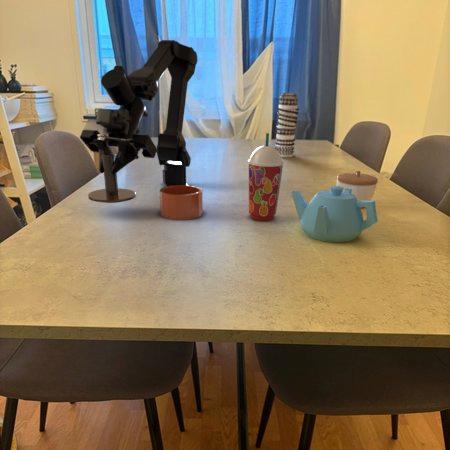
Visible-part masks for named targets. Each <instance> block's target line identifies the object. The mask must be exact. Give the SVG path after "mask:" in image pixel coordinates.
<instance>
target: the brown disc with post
mask: <svg viewBox="0 0 450 450" xmlns="http://www.w3.org/2000/svg"><path fill="white" fill-rule="evenodd" d="M115 158H116V154H115V153H113V152H112V153H104V154H102V161H103V170H104V172H103V178H104V188H102V189H96V190H93V191H90V192H89V193H88V194H87V197H88V200H90V201H92V202H97V203H104V204H115V203H117V204H118V203H123V202H128V201H131V200H134V199H135V198H136V197H137V192H136V191H134V190H131V189H129V188H120V187H119V185H118V174H117V173H118V172H117V173H116V174H115V175H113V174H112V173H111V170H112V166H113V164H114V161H115Z"/></svg>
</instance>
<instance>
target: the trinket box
mask: <svg viewBox="0 0 450 450" xmlns="http://www.w3.org/2000/svg"><path fill="white" fill-rule="evenodd" d="M378 182H379V179H378V178H377V177H376V176H375V175H374V176H373V175H370V174H366V173H361V170H356V171H355V172H346V173H339V174H338V175H337V177H336V186H341V187H343V188H344V189H343V192H344V190H345V189H347V188H348V189H352V192H351V194H353V195H354V196H355V197H356V199H357V201H359V200H373V197H374V195H375V193H376V189H377V184H378ZM360 208H361V209H362V208H363V207H360Z"/></svg>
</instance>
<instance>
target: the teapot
mask: <svg viewBox="0 0 450 450" xmlns="http://www.w3.org/2000/svg"><path fill="white" fill-rule="evenodd" d="M343 189H344V188H343V187H341V186H337V185H331V186H330V189H329V190H328V189H327V190H326V189H325V190H320V191H318V192H316V194H315V195H314V196H313V197H312V198H311V200H310V201H309V203H307V202H306V201H305V199H304V198H303V195H302V193H301V192H300V191H298V190H293V191H291V192H290V193H291V197H292V200H293V203H294V205H295V209H296V212H297V215H298V219H299V221H300V228H301V229H302V230H303V232H304V233H305V234H306V235H307V236H308V237H310V238H311V239H315V240H317V241H321V242H328V243H347V242H352V241H353V240H355V239H356V238H358V236H360V235H361V234H362V233H363V231H365V230H367V229H369V228H371V227H372V226H374V225H375V224H376V223H378V221H379V220H378V213H377V206H376V200H374V199H371V200H359V201H357V199H356V197H355V196H354V195H353V194H351V192H352V189H348V188H347V189H345V190H344V192H343ZM360 207H362V208H365V213H366V214H365V215H366V217H365V218H366V219H364V214H363V211H362V208H360Z"/></svg>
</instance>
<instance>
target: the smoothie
mask: <svg viewBox="0 0 450 450" xmlns="http://www.w3.org/2000/svg"><path fill="white" fill-rule="evenodd" d="M269 139H270V133H269V132H266V133H265V144H264V145H261V146H259V147H257V148H255V150H254V151H253V152H252V154H251V155H250V158H249V159H248V160H247V161H248V163H247V164H248V213H249V214H250V218H251V219H253V220H256V221H260V222H261V221H262V222H268V221H272V220H273V219H274V218H275V215H276V214H277V210H278V202H279V195H280V190H281V189H280V187H281V181H282V175H283V166H284V161H283V160H282V157H281V156H280V154H279V152H278V151H277V150H276V149H275V147H273V146H271V145H269Z"/></svg>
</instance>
